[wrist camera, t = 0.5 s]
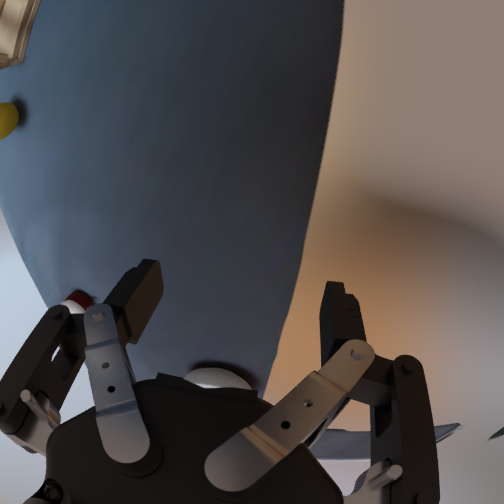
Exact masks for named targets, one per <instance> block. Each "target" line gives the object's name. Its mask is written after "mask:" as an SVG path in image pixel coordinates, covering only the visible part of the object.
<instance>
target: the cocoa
mask: <svg viewBox="0 0 504 504" xmlns="http://www.w3.org/2000/svg"><path fill="white" fill-rule="evenodd" d="M61 305H66V306H67V307H68V308H69V310H70V313H71V314H74V313H85V311H86V310H87V309H88V308H89V307H91V306H92V301H91V299H90V298H89V297H88V296H87V295H86V294H84V293H82V292H78V291H76V292H73V293H72V294H70V295H69V296H68V297H67V298H66V299H65V301H64V302H62V303H61Z"/></svg>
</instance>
